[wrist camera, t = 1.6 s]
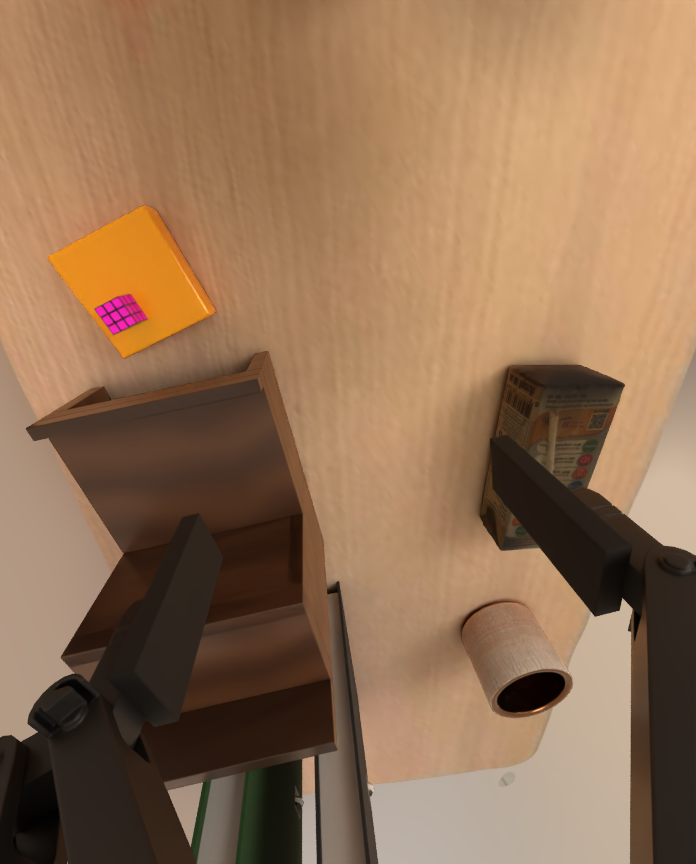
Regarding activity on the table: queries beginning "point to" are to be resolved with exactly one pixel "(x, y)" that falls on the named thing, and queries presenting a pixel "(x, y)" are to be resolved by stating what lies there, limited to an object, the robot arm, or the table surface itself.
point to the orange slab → (133, 281)
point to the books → (297, 791)
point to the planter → (515, 661)
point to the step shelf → (240, 569)
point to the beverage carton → (551, 433)
